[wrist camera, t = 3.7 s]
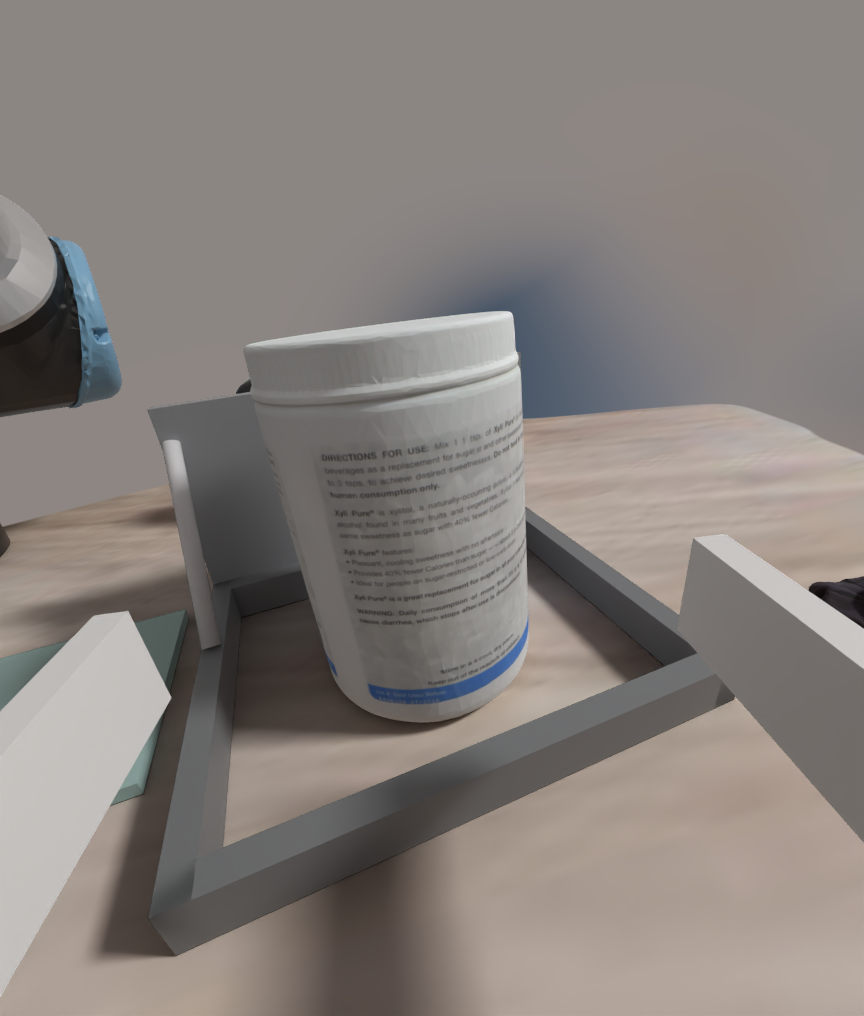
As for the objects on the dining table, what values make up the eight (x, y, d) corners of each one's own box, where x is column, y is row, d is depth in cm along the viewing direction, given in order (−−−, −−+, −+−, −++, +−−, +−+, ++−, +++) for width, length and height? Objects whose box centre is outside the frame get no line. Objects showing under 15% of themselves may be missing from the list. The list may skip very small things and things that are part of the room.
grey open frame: (225, 604, 26) (151, 406, 21) (517, 525, 32) (513, 351, 26) (176, 955, 12) (-102, 592, 7) (733, 699, 17) (819, 387, 12)
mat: (-40, 679, 23) (-47, 671, 22) (188, 617, 25) (185, 609, 25) (-264, 940, 13) (-280, 931, 13) (143, 793, 16) (136, 783, 16)
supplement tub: (555, 617, 22) (564, 303, 16) (470, 779, 15) (426, 329, 9) (403, 574, 27) (365, 322, 21) (286, 680, 20) (175, 348, 14)
